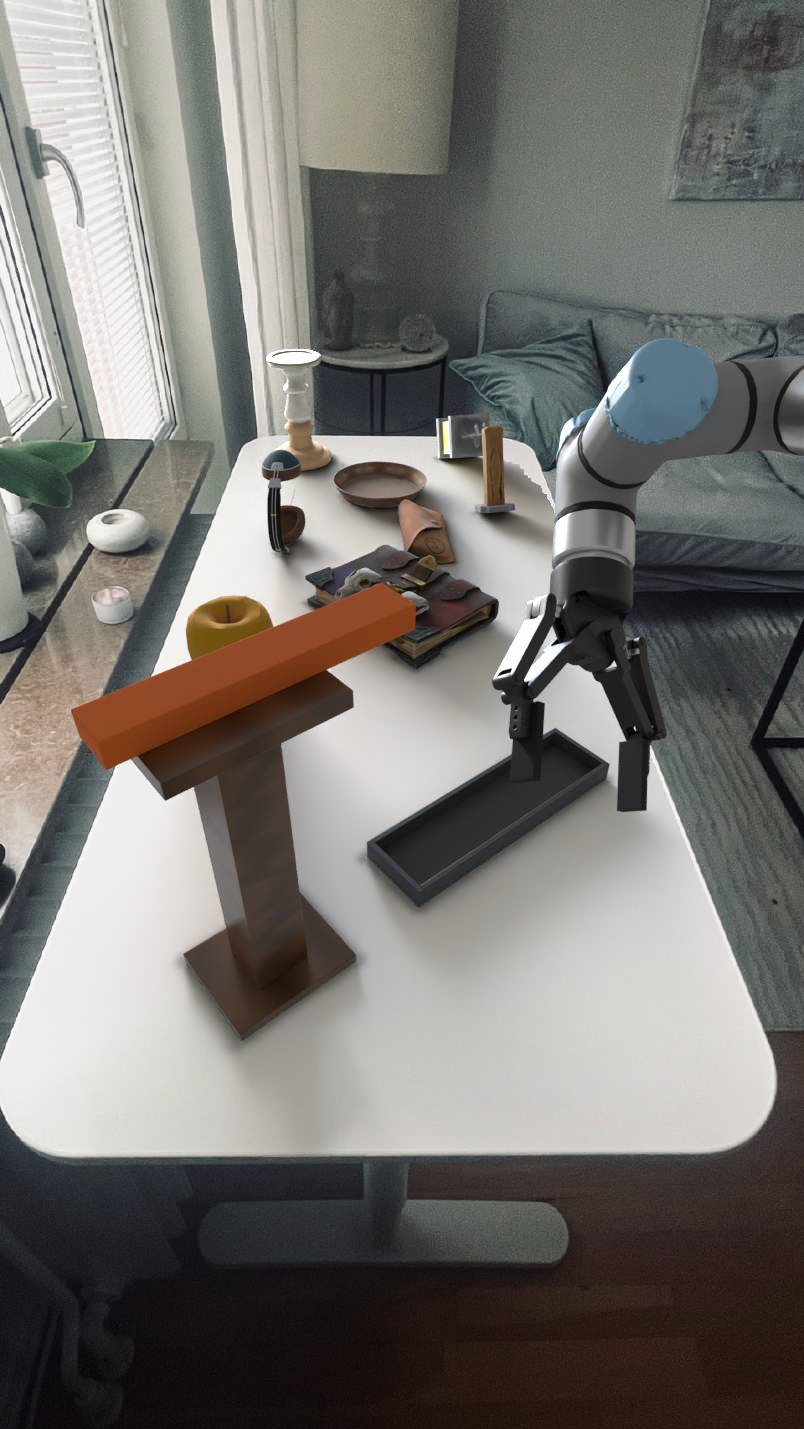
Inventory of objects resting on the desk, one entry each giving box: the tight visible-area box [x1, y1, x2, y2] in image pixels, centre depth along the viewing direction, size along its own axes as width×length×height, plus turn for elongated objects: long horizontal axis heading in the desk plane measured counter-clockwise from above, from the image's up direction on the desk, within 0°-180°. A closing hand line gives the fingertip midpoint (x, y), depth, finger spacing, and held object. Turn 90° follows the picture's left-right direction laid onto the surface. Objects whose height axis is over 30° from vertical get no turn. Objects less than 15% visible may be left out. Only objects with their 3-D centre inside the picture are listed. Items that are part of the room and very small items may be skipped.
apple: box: [185, 594, 274, 661], centre depth 98 cm, size 11×11×13 cm
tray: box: [366, 727, 611, 908], centre depth 85 cm, size 28×8×2 cm, turn 130°
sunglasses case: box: [397, 499, 455, 565], centre depth 135 cm, size 18×7×7 cm
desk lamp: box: [435, 412, 516, 514], centre depth 151 cm, size 8×17×30 cm
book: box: [304, 544, 500, 670], centre depth 116 cm, size 26×18×7 cm
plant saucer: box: [332, 460, 428, 509], centre depth 149 cm, size 18×18×3 cm
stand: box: [130, 669, 357, 1041], centre depth 62 cm, size 14×10×30 cm
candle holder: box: [265, 348, 332, 472], centre depth 157 cm, size 12×12×20 cm
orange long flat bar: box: [70, 583, 416, 771], centre depth 53 cm, size 24×4×2 cm, turn 130°
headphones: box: [261, 449, 306, 554], centre depth 131 cm, size 6×15×22 cm
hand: (581, 797), depth 68 cm, fingers open, 13 cm apart
